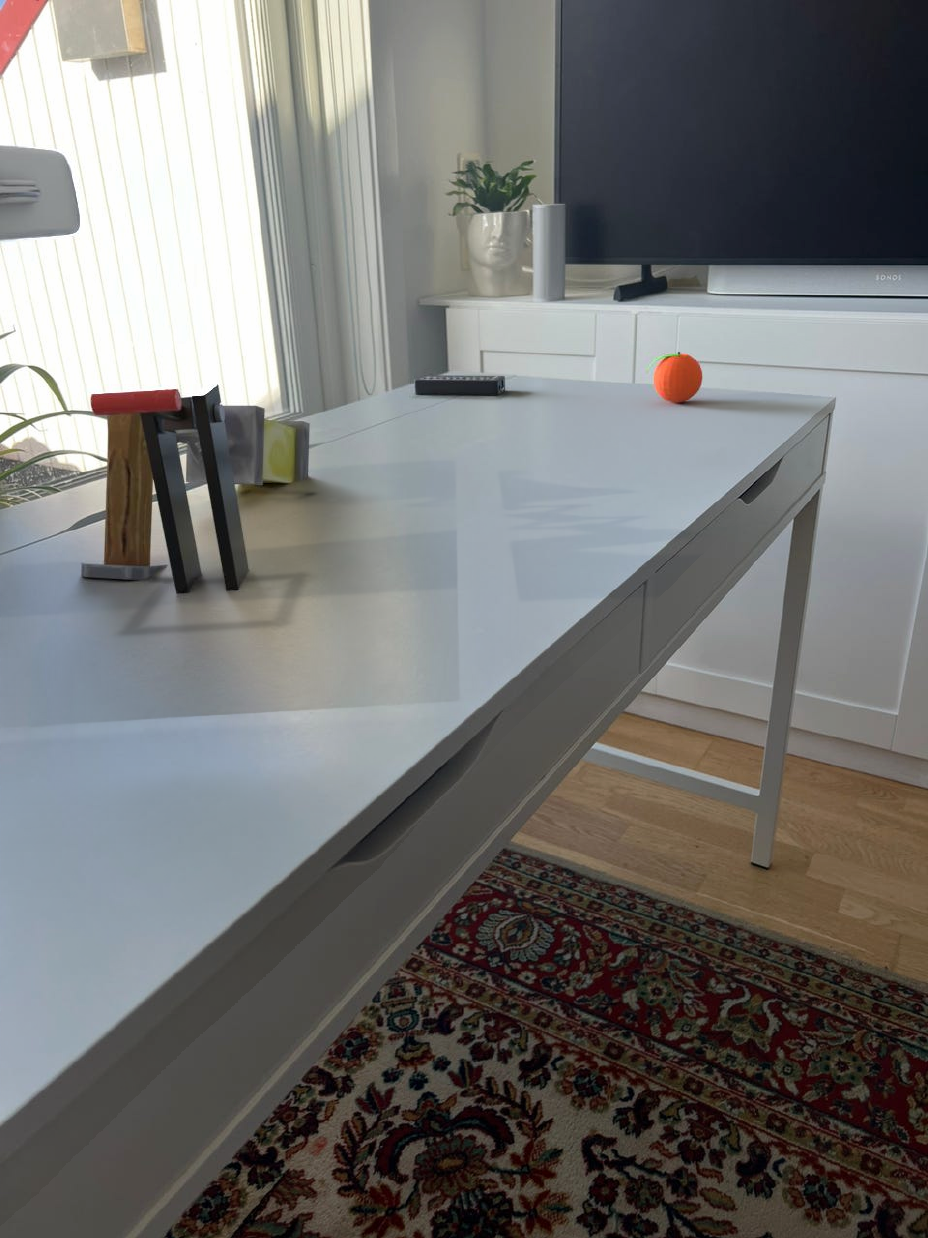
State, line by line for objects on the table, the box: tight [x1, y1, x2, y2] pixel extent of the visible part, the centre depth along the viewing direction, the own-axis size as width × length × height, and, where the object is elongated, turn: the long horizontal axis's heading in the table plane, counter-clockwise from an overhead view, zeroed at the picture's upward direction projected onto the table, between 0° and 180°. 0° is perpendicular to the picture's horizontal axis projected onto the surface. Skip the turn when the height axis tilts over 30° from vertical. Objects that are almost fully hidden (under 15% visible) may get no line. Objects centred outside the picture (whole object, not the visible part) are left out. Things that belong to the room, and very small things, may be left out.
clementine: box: [646, 351, 703, 404], centre depth 134 cm, size 8×7×7 cm
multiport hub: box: [413, 374, 506, 396], centre depth 151 cm, size 4×14×2 cm, turn 69°
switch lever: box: [89, 387, 198, 433], centre depth 66 cm, size 12×6×2 cm, turn 0°
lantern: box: [80, 405, 311, 581], centre depth 91 cm, size 8×17×30 cm
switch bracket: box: [140, 383, 250, 595], centre depth 73 cm, size 10×12×17 cm
